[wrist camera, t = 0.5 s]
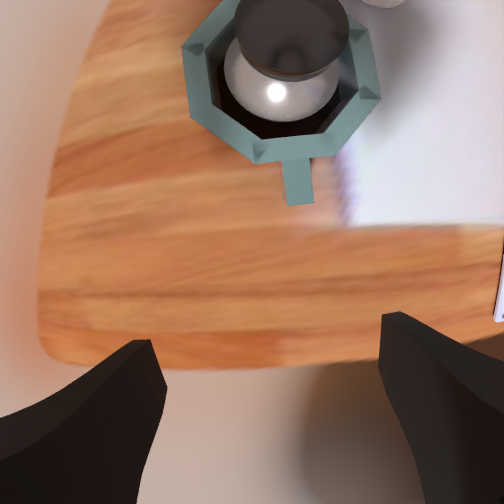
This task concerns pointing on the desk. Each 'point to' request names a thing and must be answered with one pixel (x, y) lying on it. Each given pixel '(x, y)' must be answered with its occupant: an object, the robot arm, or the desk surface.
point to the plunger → (285, 56)
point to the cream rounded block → (384, 3)
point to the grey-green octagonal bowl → (286, 148)
